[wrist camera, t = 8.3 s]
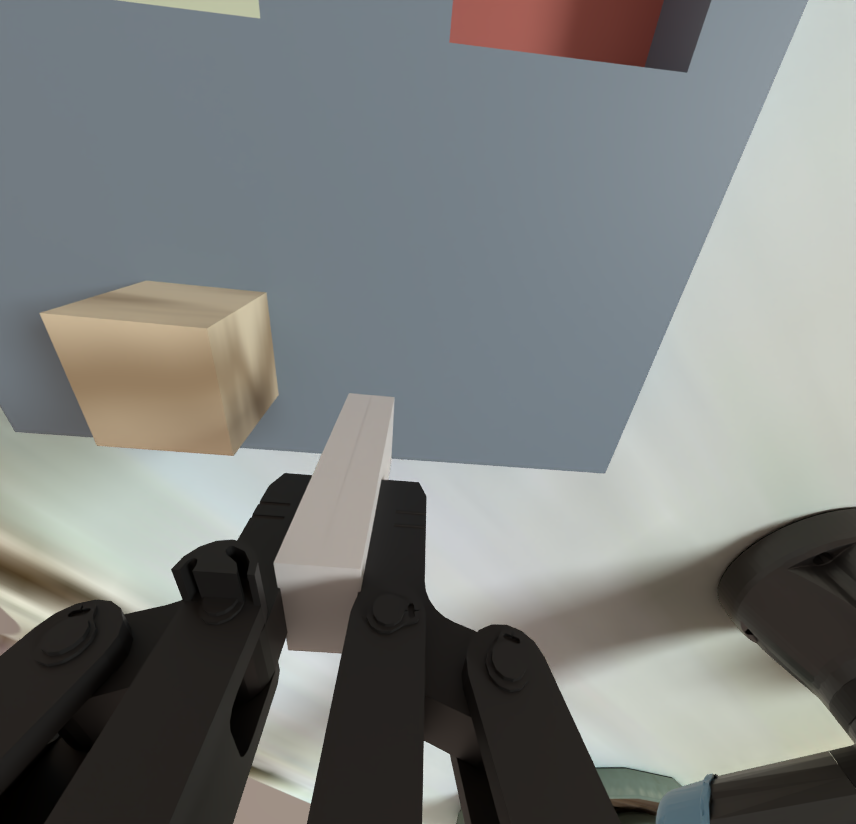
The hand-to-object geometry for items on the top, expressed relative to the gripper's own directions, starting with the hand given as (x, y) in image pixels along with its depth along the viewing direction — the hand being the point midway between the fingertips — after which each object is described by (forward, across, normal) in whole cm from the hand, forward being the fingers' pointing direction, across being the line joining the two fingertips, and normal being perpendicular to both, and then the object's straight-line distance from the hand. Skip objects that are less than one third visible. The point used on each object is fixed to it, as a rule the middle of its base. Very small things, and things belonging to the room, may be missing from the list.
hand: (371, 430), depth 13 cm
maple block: (+6, +8, 0) cm, 10 cm away
